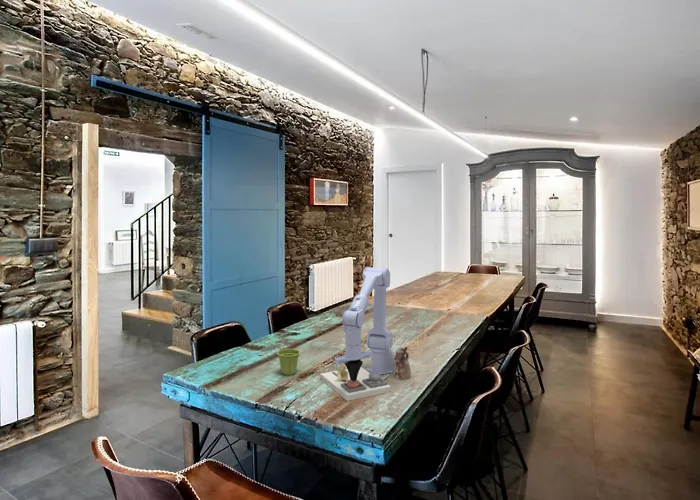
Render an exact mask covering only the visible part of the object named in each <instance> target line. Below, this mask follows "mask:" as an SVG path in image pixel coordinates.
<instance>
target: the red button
mask: <svg viewBox="0 0 700 500" xmlns="http://www.w3.org/2000/svg"><path fill="white" fill-rule="evenodd" d="M347 387H348V388H350V389H353V388H358V387H359V380H356V381H352V380H348V381H347Z"/></svg>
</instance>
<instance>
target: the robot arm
mask: <svg viewBox="0 0 700 500" xmlns="http://www.w3.org/2000/svg"><path fill="white" fill-rule="evenodd" d="M362 280H363V283H362V285H361V288H360V291H359V294H356V295H354V297H353V299H352V302H351V303H350V306H349V307H348V309H347V310H345V311H344V312H343V315H342V318H341V322H342V325H343V331H344V332H345V335H344V338H345V339H344V343H345V344H344V345H345V347H344V349H345V350H344V352H345V354H343V355H341V356H338V357H336V358H334V365H337V366H340V365H345V368H346V369H348V372H349V376H350V380H352V381H356V380H357V376H358V372H359V370H360V367H362V366H363V362H364V361H362V360H363V359H367V358H368V359H370V368H366V371H368V372H369V373H379V374H381V375H388V374H391V373H392V374H393V370H394V364H395V360H394V358H395V353H394V350H392V348H393V343H394V341H393V333H392V331H391V330H389V329H388V327H387V326H386V318H387V317H386V315H387V311H386V310H387V289H388V288H389V287H390V285H391V272H390V270H389V268H388V267H371V266H370V267H369V266H365V268H363V270H362ZM372 292H373V293H374V295H373V296H374V299H373V326H372V328H370V329H368V331H367V337H366V341H365V342H366V347H367V348H368V349H369V350H368V351H362V326H363V325H364V322H365V315H366V314H365V312H366V310H367V308H368V306H369V302H370V300H369V297H370V295H371V293H372Z"/></svg>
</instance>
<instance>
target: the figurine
mask: <svg viewBox="0 0 700 500" xmlns="http://www.w3.org/2000/svg"><path fill="white" fill-rule="evenodd" d="M407 350H408V346H405V347H401V346H400V347H398V348H397V349H396V351H395V355H394V370H393V372H392V377H393V379H395V380H400V381H405V380H409V379H410V378H411V365H410V363H409V353H408V351H407Z"/></svg>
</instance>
